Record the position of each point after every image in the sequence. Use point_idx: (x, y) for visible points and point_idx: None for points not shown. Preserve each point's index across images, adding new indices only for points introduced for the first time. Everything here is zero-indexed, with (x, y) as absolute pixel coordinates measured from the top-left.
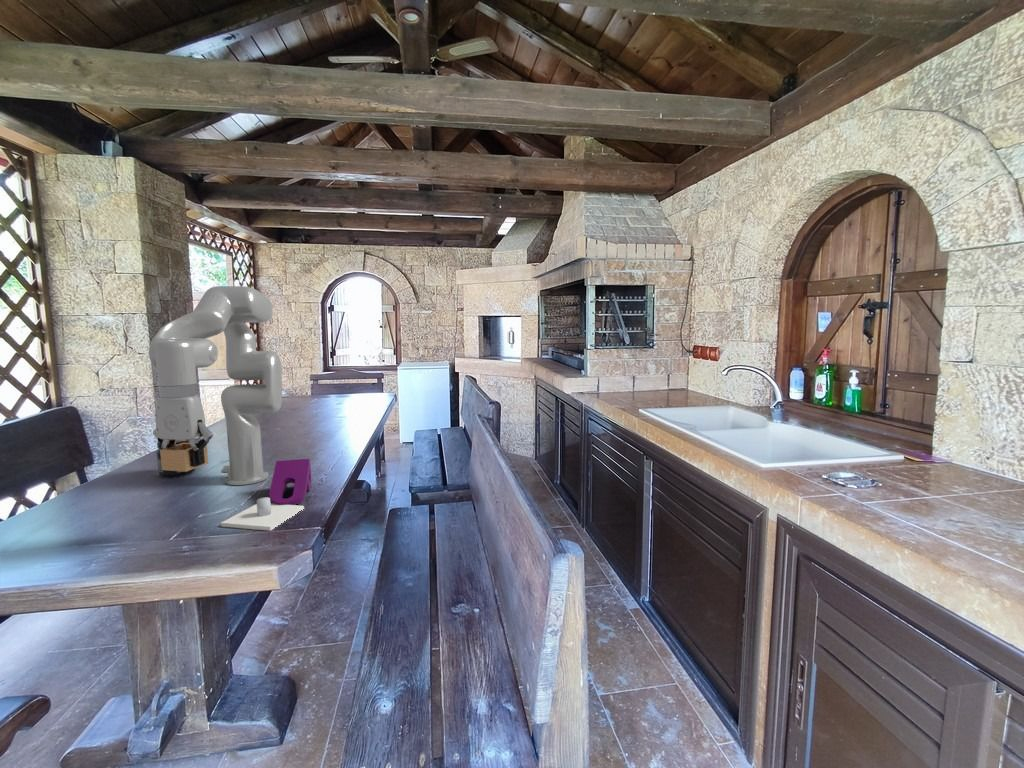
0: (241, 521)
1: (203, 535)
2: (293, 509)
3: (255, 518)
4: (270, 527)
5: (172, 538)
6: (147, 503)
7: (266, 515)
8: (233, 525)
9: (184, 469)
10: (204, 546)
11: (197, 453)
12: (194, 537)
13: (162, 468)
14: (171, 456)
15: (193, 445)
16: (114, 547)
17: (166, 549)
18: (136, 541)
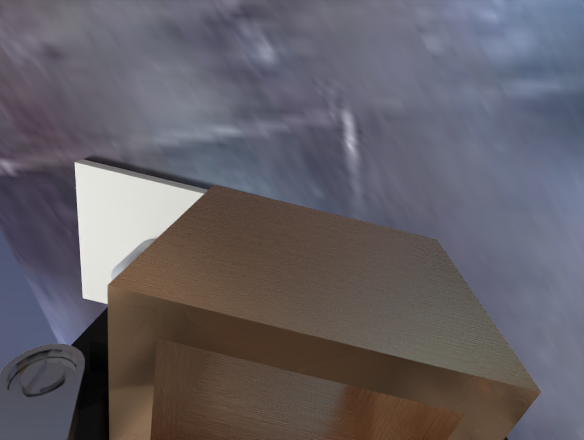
0: (186, 208)
1: (260, 138)
2: (94, 277)
3: (158, 225)
4: (76, 162)
5: (346, 121)
6: (560, 375)
7: (140, 243)
8: (201, 190)
9: (219, 192)
10: (206, 52)
11: (93, 334)
12: (280, 125)
13: (435, 244)
14: (340, 284)
15: (27, 415)
16: (508, 57)
17: (316, 33)
18: (455, 104)
